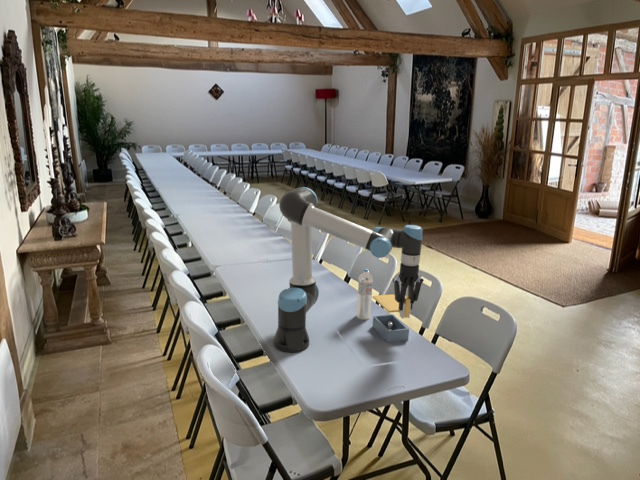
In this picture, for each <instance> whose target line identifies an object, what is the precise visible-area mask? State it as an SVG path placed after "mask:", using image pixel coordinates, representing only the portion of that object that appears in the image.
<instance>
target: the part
mask: <svg viewBox="0 0 640 480" xmlns="http://www.w3.org/2000/svg"><path fill="white" fill-rule="evenodd" d="M393 326H394V322H391V321H389V322H388V324H387V329H391V330H393Z"/></svg>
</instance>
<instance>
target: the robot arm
mask: <svg viewBox="0 0 640 480" xmlns="http://www.w3.org/2000/svg"><path fill="white" fill-rule="evenodd" d="M318 200H319V199H318V197H317V194H316V192H315V191H313V189H311V188H309V187H306V186H302V187H301V186H299V187H296V188H294V189H293V190H290V191H287V192H286V193H284V194H283V195H282V196H281V198H280V201H279V210H280V213H281V214H282V216H283V217H285V218H286V220H287V221H288V222H289V223H290V227H291V228H290V229H291V230H290V233H291V256H292V257H291V261H292V262H291V263H292V264H291V265H292V277H291V278H290V279H289V280H288V282H289V287H288V288H285V289H283V290H281V291H280V293H279V294H278V299H277V305H278V306H277V313H278V314H277V329H276V331H275V334H274V336H273V337H274V338H273V346H274V347H275V349H277V350H279V351H281V352H286V353H298V352H302V351H304V350H306V349H308V347H309V346H310V336H309V334H308V330H307V326H306V325H307V323H306V322H307V313H308V312H309V310H310V309H311V308H312V307H313V306H314V305H315V304H316V303H317V301H318V299H319V294H320V290H319V287H318V285H317V284H316V283H317V280H316V278H315V277H314V275H313V248H312V247H313V246H312V244H313V242H312V238H313V237H312V228H314V229H316V230H318V231H320V232H323V233H326V234H329V235H331V236H334V237H336V238H338V239H340V240H343V241H345V242H348V243H351V244H352V245H355V246H357V247H359V248H362V249H364V250H368V251H370V253H371V254H372V256H373V257H375V258H378V259H382V258H386V257H387V256H388V254H389V255H390V253H391V252H392V249H396V248H397V249H401V255H400V264H399V265H400V266H399V274H398V277H397V278H393V279H392V283H393V284H394V285H393V288H394V294H395V300H396V301H397V302H398V303H399V310H400V313H399V317H400V318H401V319H405V317H404V314H405V303H404V300H405V295H406V294H407V297H408V298H409V299H411V300H410V310H412V309H413V304H415V302H417V301H418V300H419V295H420V292H421V287H422V285H423V282H424V281H425V280H424V278H423V277H421V276H419V271H420V265H419V264H420V260H421V250H422V243H423V232H424V230H423V228H422V227H421V226H419V225H416V224H406V225H404V227H403V229H397V228H388V227H384V226H382V227H381V226H379V227H378V226H377V227H374V228H373V230H372V229H369V228H368V227H364V226H362V225H360V224H356V223H354V222H352V221H349V220H347V219H345V218H342V217H340V216H337V215H335V214H333V213H330V212H328V211H325V210H323V209H320V208H317V206H318V203H319V202H318ZM285 218H284V219H285ZM400 286H401V287H400ZM407 292H408V293H407ZM410 310H409V317H407V319H409V318H410V317H411V311H410Z"/></svg>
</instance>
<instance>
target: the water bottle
mask: <svg viewBox="0 0 640 480" xmlns="http://www.w3.org/2000/svg"><path fill="white" fill-rule="evenodd" d="M357 280H358V288H357V299H356V318H357V319H358V320H362V321H367V320H369V319H371V316H372V315H371V314H372V301H373V299H372V298H373V282H374V278H373V276H372V274H371V273H370V272H369V269H368V268H364V272H363V273H361V274H360V275H358V279H357Z"/></svg>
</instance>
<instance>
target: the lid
mask: <svg viewBox="0 0 640 480" xmlns="http://www.w3.org/2000/svg"><path fill="white" fill-rule="evenodd" d="M372 298H373V300H375V301H376V302H377V303H378V304H379V305H380V306H381V307H382V308H383V309H384V310H385V311H386V312H388V313H391V314H392V313H399V314H400V310H399V303H398V302H397V301H396V300H395V293H394V294H381V295H379V294H378V295H372ZM410 300H411V299H409V298H408V295H406V294H405V300H404V303H405V314H404V319H405V318H407V317H409V310H410ZM411 311H412V310H410V312H411ZM407 319H408V318H407Z"/></svg>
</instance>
